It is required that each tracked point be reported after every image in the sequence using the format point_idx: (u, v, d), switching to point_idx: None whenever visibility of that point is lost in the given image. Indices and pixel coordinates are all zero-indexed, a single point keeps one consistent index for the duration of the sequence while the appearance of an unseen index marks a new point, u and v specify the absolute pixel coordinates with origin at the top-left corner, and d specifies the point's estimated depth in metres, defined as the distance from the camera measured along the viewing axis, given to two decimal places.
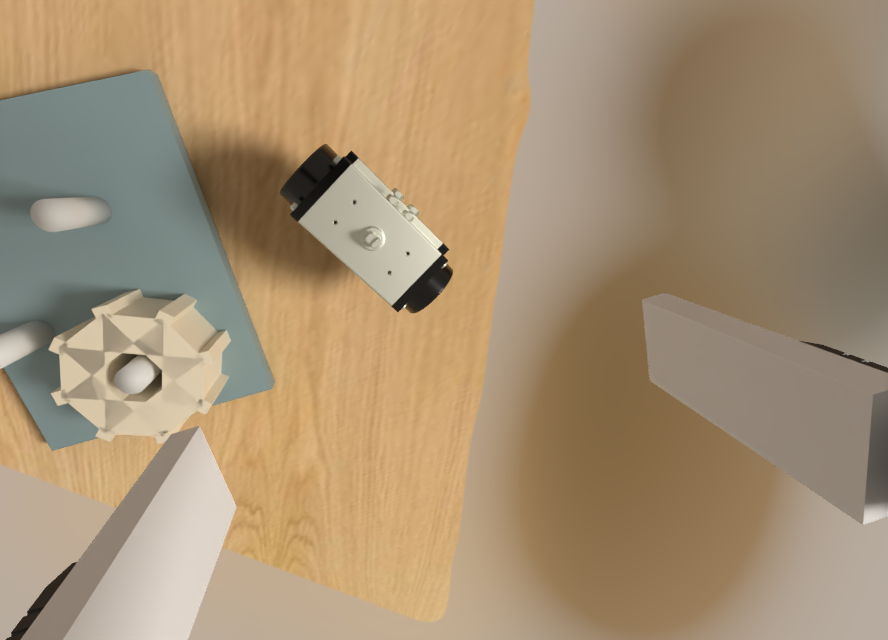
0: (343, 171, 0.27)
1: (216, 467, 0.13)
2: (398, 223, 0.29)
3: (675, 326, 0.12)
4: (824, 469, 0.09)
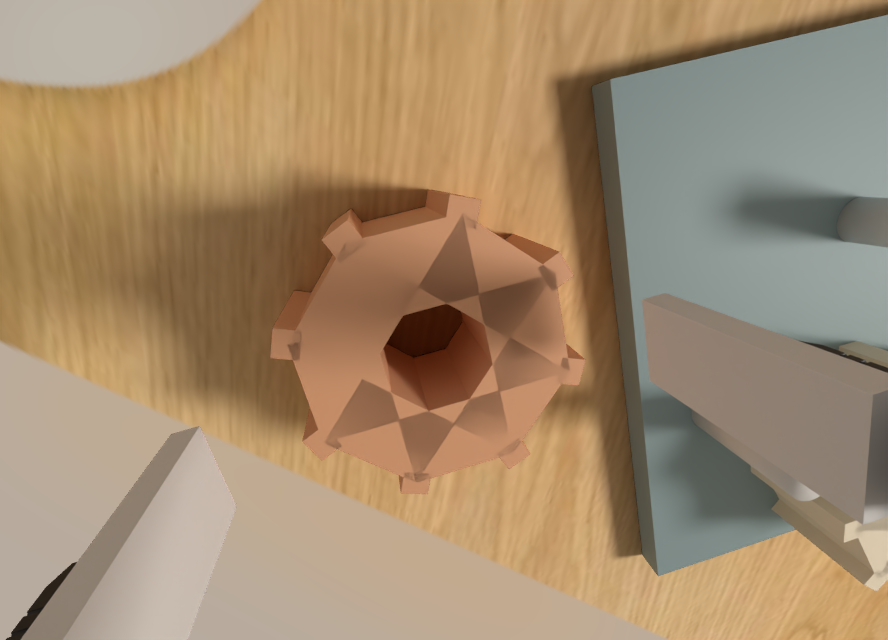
0: None
1: (216, 467, 0.13)
2: None
3: (675, 326, 0.12)
4: (824, 469, 0.09)
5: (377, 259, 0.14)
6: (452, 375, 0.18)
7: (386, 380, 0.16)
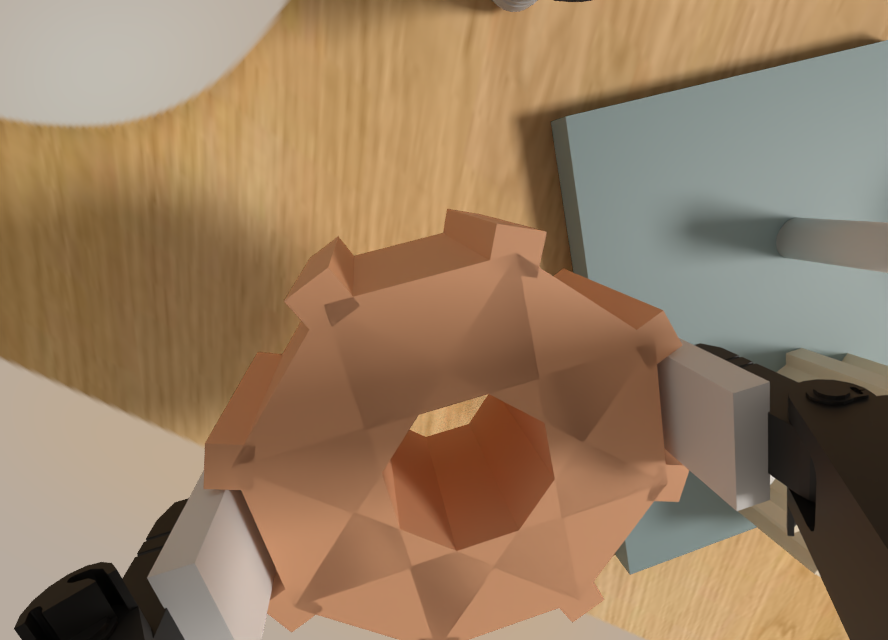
0: None
1: None
2: None
3: None
4: (708, 461, 0.10)
5: (378, 330, 0.09)
6: (486, 478, 0.13)
7: (392, 511, 0.10)
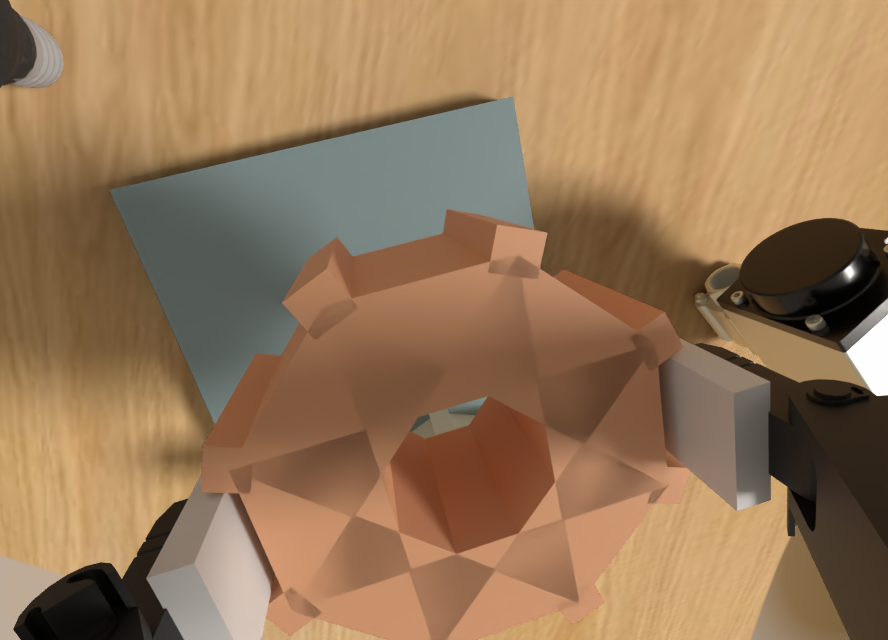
0: None
1: None
2: None
3: None
4: (708, 461, 0.10)
5: (376, 331, 0.09)
6: (485, 479, 0.13)
7: (391, 514, 0.10)
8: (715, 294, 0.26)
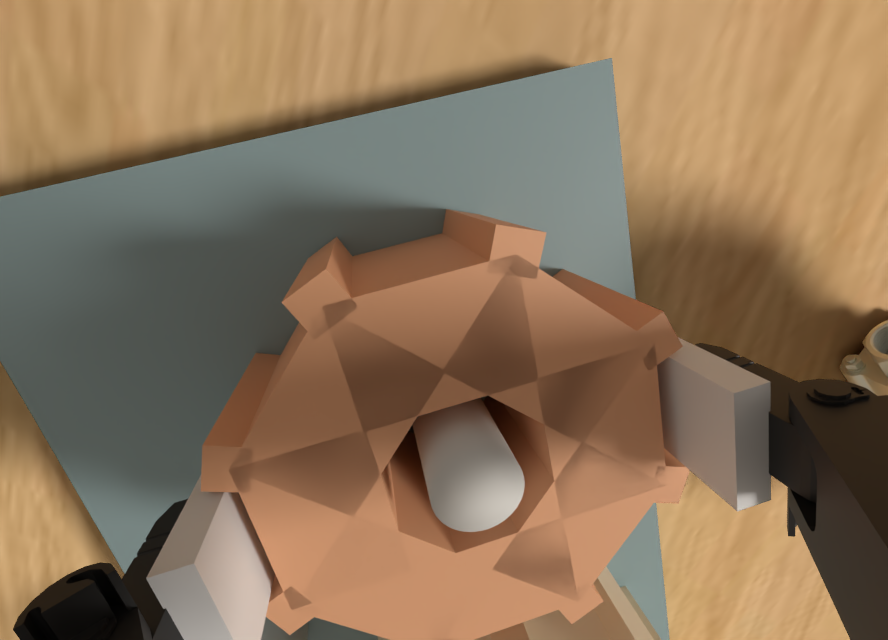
0: None
1: None
2: None
3: None
4: (708, 461, 0.10)
5: (376, 331, 0.09)
6: None
7: (390, 513, 0.10)
8: None
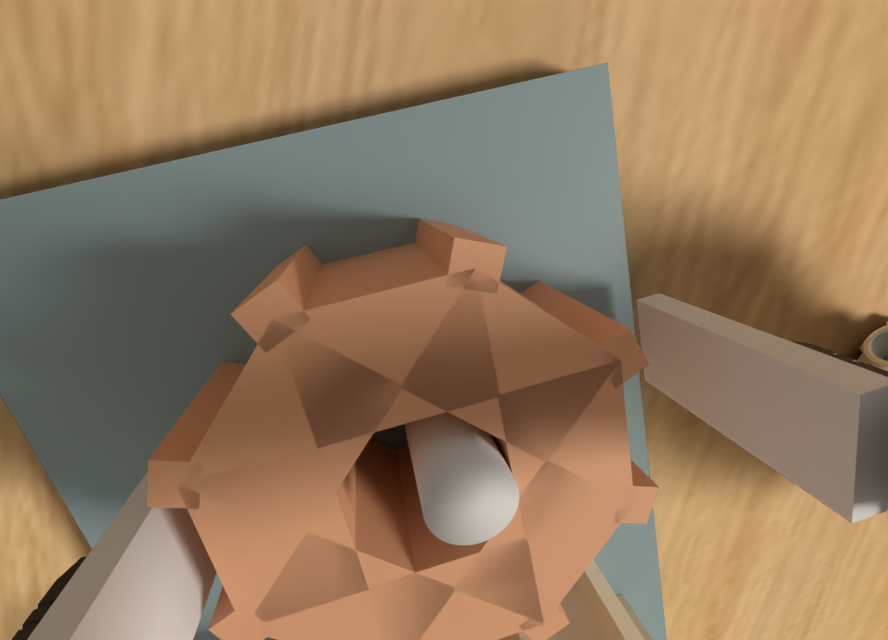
0: None
1: None
2: None
3: (669, 325, 0.13)
4: (814, 468, 0.09)
5: (330, 344, 0.08)
6: None
7: (346, 531, 0.10)
8: None
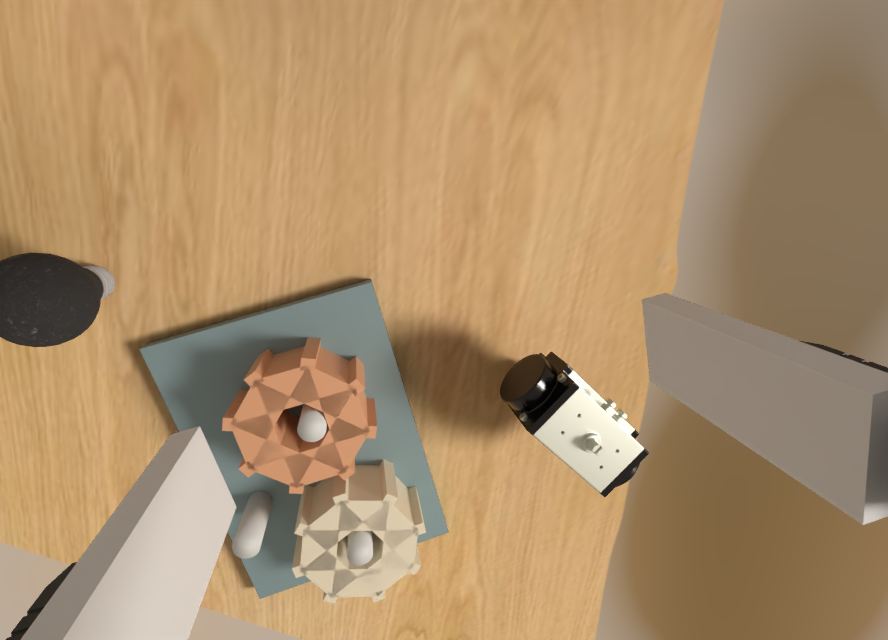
0: (573, 393, 0.32)
1: (216, 467, 0.13)
2: (612, 428, 0.33)
3: (675, 326, 0.12)
4: (824, 469, 0.09)
5: (269, 386, 0.32)
6: None
7: (277, 439, 0.34)
8: None
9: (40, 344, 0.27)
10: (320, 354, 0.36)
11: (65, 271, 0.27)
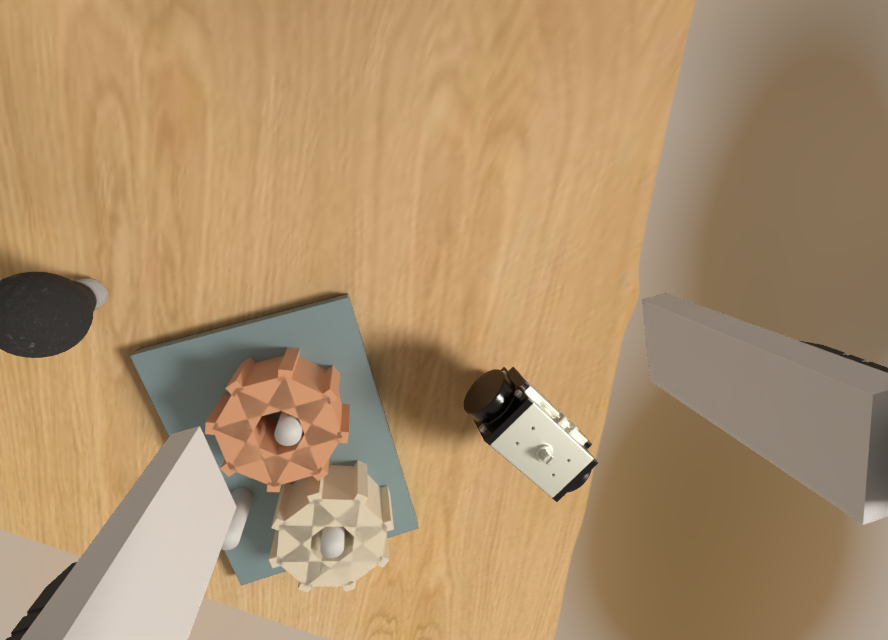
0: (527, 408, 0.35)
1: (216, 467, 0.13)
2: (563, 440, 0.36)
3: (675, 326, 0.12)
4: (824, 469, 0.09)
5: (249, 394, 0.35)
6: None
7: (256, 442, 0.36)
8: None
9: (37, 356, 0.30)
10: (298, 364, 0.39)
11: (60, 290, 0.30)
